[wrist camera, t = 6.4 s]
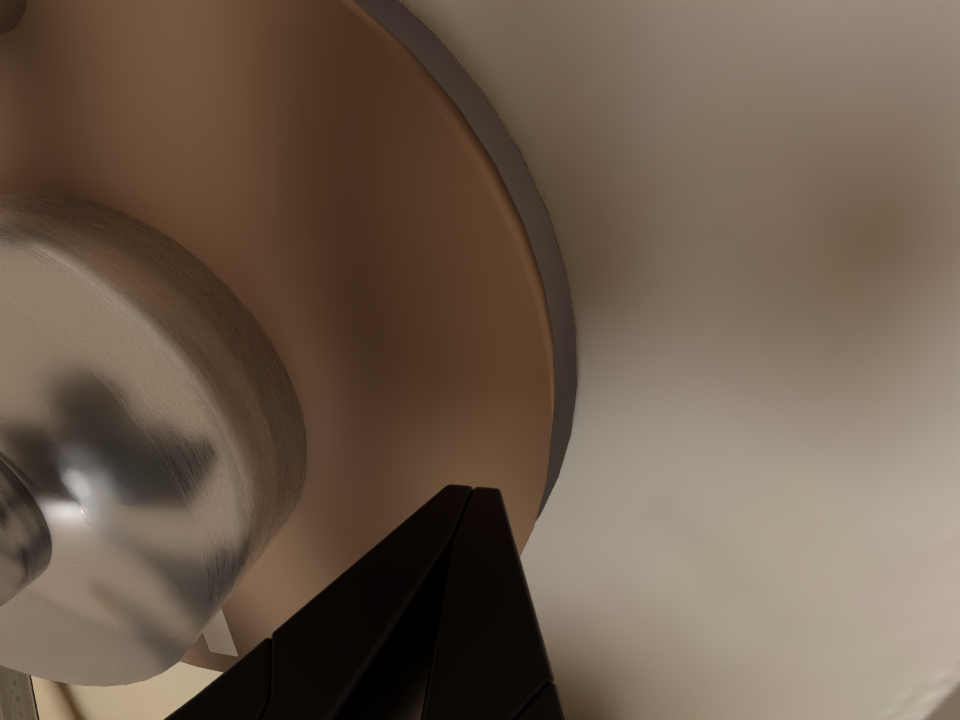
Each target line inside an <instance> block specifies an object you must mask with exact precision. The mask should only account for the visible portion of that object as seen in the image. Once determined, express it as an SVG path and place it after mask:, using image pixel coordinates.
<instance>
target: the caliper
mask: <svg viewBox="0 0 960 720" xmlns="http://www.w3.org/2000/svg"><path fill="white" fill-rule="evenodd" d="M0 720H39V715H38V710H37V705H36V700H35V695H34V690H33V684H32V679H31V675H29V674H25V673H22V672H19V671H16V670H13V669H10V668H7V667H4V666H2V665H0Z"/></svg>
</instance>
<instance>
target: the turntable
mask: <svg viewBox="0 0 960 720" xmlns="http://www.w3.org/2000/svg"><path fill="white" fill-rule="evenodd" d="M26 192H44V193H61V194H66V195H71V196H75V197H80V198H85V199H90V200H93V201H95V202H98V203H101V204H104V205H107V206H110V207H113V208H115V209H118V210H121V211H123V212H125V213H127V214H129V215H131V216H133V217H135V218H137V219H139V220H141V221H143V222H145V223H147V224H149V225H151V226H152V227H154V228H155V229H157V230H159V231H160V232H162V233H163V234H165V235H167V236H168V237H170V238H171V239H173V240H174V241H176V242H178V243H179V244H180V245H181V246H183V247H184V248H185V249H187V250H188V251H189V252H190V253H192V254H193V255H194V256H195V257H197V258H198V259H199V260H201V261H202V262H203V263H204V264H206V265H207V266H208V267H209V268H210V269H211V270H212V271H213V272H214V273H215V274H216V275H217V276H218V277H219V278H220V279H221V280H222V281H223V282H224V283H225V284H226V285H227V286H228V287H229V288H230V289H231V290H232V291H233V292H234V293H235V294H236V296H237V297H238V298H239V299H240V300H241V301H242V303H243V304H244V305H245V306H246V307H247V309H248V310H249V311H250V312H251V313H252V315H253V316H254V317H255V319H256V320H257V322H258V323H259V325H260V326H261V328H262V329H263V330H264V332H265V333H266V335H267V336H268V338H269V339H270V340H271V342H272V344H273V346H274V348H275V350H276V351H277V353H278V355H279V357H280V359H281V360H282V362H283V364H284V366H285V368H286V370H287V373H288V375H289V378H290V380H291V382H292V385H293V387H294V390H295V392H296V395H297V398H298V402H299V405H300V409H301V412H302V416H303V420H304V426H305V433H306V440H307V470H306V476H305V482H304V487H303V490H302V493H301V496H300V499H299V502H298V505H297V507H296V508H295V510H294V512H293V513H292V515H291V517H290V519H289V520H288V522H287V523H286V524H285V526H284V527H283V528H282V530H281V531H280V532H279V534H278V535H277V536H276V537H275V539H274V540H273V541H272V543H271V544H270V545H269V547H268V548H267V549H266V550H265V552H264V553H263V554H262V556H261V557H260V558H259V560H258V561H257V562H256V563H255V565H254V566H253V567H252V569H251V570H250V571H249V573H248V574H247V575H246V577H245V578H244V579H243V580H242V582H241V583H240V584H239V586H238V587H237V588H236V590H235V591H234V592H233V593H232V595H231V596H230V597H229V599H228V600H227V601H226V603H225V604H224V605H223V607H222V608H221V609H220V610H219V612H218V613H217V614H216V616H215V617H214V618H213V620H212V621H211V622H210V623H209V625H208V626H207V627H206V629H205V630H204V631H203V633H202V634H201V635H200V636H199V638H198V639H197V640H196V642H195V643H194V644H193V646H192V647H191V648H190V649H189V650H188V652H187V653H186V654H185V655H184V656H183V657H182V658H181V659H180V662H184V663H187V664H190V665H193V666H197V667H201V668H206V669H210V670H215V671H219V672H225V671H226V670H228V669H229V668H230V667H231V666H233V665H234V664H235V663H236V662H238V661H239V660H240V659H241V658H242V657H244V656H245V655H246V654H247V653H248V652H250V651H251V650H252V649H253V648H254V647H255V646H257V645H258V644H259V643H260V642H261V641H263V640H264V639H265V638H267V637H268V638H270V639H271V635H272V633H273V632H274V631H275V630H276V629H277V628H278V627H279V626H281V625H282V624H283V623H284V622H285V621H287V620H288V619H289V618H290V617H291V616H292V615H294V614H295V613H296V612H297V611H298V610H300V609H301V608H302V607H303V606H304V605H305V604H307V603H308V602H309V601H310V600H311V599H313V598H314V597H315V596H316V595H317V594H318V593H320V592H321V591H322V590H323V589H324V588H326V587H327V586H328V585H329V584H330V583H331V582H333V581H334V580H335V579H336V578H337V577H339V576H340V575H341V574H342V573H343V572H345V571H346V570H347V569H348V568H349V567H350V566H352V565H353V564H354V563H355V562H356V561H358V560H359V559H360V558H361V557H362V556H363V555H365V554H366V553H367V552H368V551H369V550H371V549H372V548H373V547H374V546H375V545H376V544H378V543H379V542H380V541H381V540H382V539H384V538H385V537H386V536H387V535H388V534H389V533H391V532H392V531H393V530H394V529H395V528H397V527H398V526H399V525H400V524H401V523H402V522H404V521H405V520H406V519H407V518H408V517H410V516H411V515H412V514H413V513H414V512H415V511H417V510H418V509H419V508H420V507H421V506H423V505H424V504H425V503H426V502H427V501H428V500H430V499H431V498H432V497H433V496H434V495H436V494H437V493H438V492H439V491H440V490H442V489H443V488H444V487H445V486H447V485H449V484H457V485H468V486H471V487H473V489H474V488H476V487H490V488H498V489H500V491H501V493H502V496H503V500H504V503H505V507H506V510H507V514H508V517H509V521H510V524H511V528H512V531H513V535H514V539H515V542H516V546H517V549H518V553H519V556H520V555H521V553H522V551H523V549H524V547H525V545H526V543H527V541H528V539H529V536H530V534H531V532H532V530H533V528H534V524H535V521H536V517H537V514H538V510H539V507H540V503H541V499H542V496H543V492H544V489H545V485H546V479H547V470H548V460H549V451H550V442H551V433H552V422H553V411H554V400H555V389H556V384H555V360H554V336H553V331H552V326H551V320H550V315H549V309H548V304H547V298H546V293H545V288H544V282H543V279H542V276H541V273H540V270H539V267H538V264H537V261H536V258H535V255H534V252H533V248H532V245H531V242H530V239H529V236H528V233H527V230H526V227H525V224H524V222H523V220H522V218H521V216H520V214H519V212H518V210H517V208H516V205H515V203H514V201H513V199H512V197H511V195H510V193H509V191H508V189H507V187H506V184H505V182H504V180H503V178H502V176H501V174H500V172H499V170H498V168H497V166H496V164H495V163H494V161H493V160H492V158H491V156H490V155H489V153H488V152H487V150H486V149H485V147H484V146H483V144H482V142H481V141H480V139H479V138H478V136H477V135H476V133H475V132H474V130H473V128H472V127H471V125H470V124H469V122H468V121H467V119H466V118H465V116H464V115H463V113H462V111H461V110H460V108H459V107H458V106H457V105H456V104H455V102H454V101H453V100H452V99H451V98H450V96H449V95H448V94H447V93H446V92H445V90H444V89H443V88H442V87H441V86H440V84H439V83H438V82H437V81H436V80H435V78H434V77H433V76H432V75H431V74H430V73H429V71H428V70H427V69H426V68H425V67H424V65H423V64H422V63H421V62H420V61H419V59H418V58H417V57H416V56H415V55H414V53H413V52H411V51H410V50H409V49H408V48H407V47H406V46H405V45H404V44H403V43H402V42H401V41H399V40H398V39H397V38H396V37H395V36H394V35H393V34H392V33H391V32H390V31H389V30H388V29H386V28H385V27H384V26H383V25H382V24H381V23H380V22H379V21H378V20H377V19H376V18H375V17H373V16H372V15H371V14H370V13H369V12H368V11H367V10H366V9H365V8H364V7H363V6H362V5H360V4H359V3H358V2H356V1H355V0H0V195H3V194H15V193H26Z"/></svg>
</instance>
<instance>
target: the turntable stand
mask: <svg viewBox="0 0 960 720" xmlns="http://www.w3.org/2000/svg"><path fill="white" fill-rule="evenodd" d="M355 1H356V2H358V3H359V4H360V5H362V6H363V7H364V8H365V9H366V10H367V11H368V12H369V13H370V14H371V15H372V16H373V17H375V18H376V19H377V20H378V21H379V22H380V23H381V24H382V25H383V26H384V27H385V28H386V29H388V30H389V31H390V32H391V33H392V34H393V35H394V36H395V37H396V38H397V39H398V40H399V41H401V42H402V43H403V44H404V45H405V46H406V47H407V48H408V49H409V50H410V51H411V52H413V53H414V55H415V56H416V57H417V58H418V59H419V61H420V62H421V63H422V64H423V65H424V67H425V68H426V69H427V70H428V71H429V73H430V74H431V75H432V76H433V77H434V78H435V80H436V81H437V82H438V83H439V84H440V86H441V87H442V88H443V89H444V90H445V92H446V93H447V94H448V95H449V96H450V98H451V99H452V100H453V101H454V102H455V104H456V105H457V106H458V107H459V108H460V110H461V111H462V113H463V115H464V116H465V118H466V119H467V121H468V122H469V124H470V125H471V127H472V128H473V130H474V132H475V133H476V135H477V136H478V138H479V139H480V141H481V142H482V144H483V146H484V147H485V149H486V150H487V152H488V153H489V155H490V156H491V158H492V160H493V161H494V163H495V164H496V166H497V168H498V170H499V172H500V174H501V176H502V178H503V180H504V182H505V184H506V187H507V189H508V191H509V193H510V195H511V197H512V199H513V201H514V203H515V205H516V208H517V210H518V212H519V214H520V216H521V218H522V220H523V222H524V224H525V227H526V230H527V233H528V236H529V239H530V242H531V245H532V248H533V252H534V255H535V258H536V261H537V264H538V267H539V270H540V273H541V276H542V279H543V282H544V288H545V293H546V298H547V304H548V309H549V315H550V320H551V326H552V331H553V336H554V360H555V384H556V389H555V400H554V411H553V422H552V433H551V442H550V451H549V460H548V470H547V479H546V485H545V489H544V492H543V496H542V499H541V503H540V507H539V510H538V514H537V517H536V520H537V519H538V517H539V516H540V514H541V512H542V510H543V508H544V506H545V504H546V502H547V500H548V498H549V496H550V493H551V491H552V489H553V487H554V485H555V483H556V481H557V479H558V476H559V473H560V469H561V466H562V462H563V459H564V456H565V452H566V449H567V445H568V442H569V438H570V435H571V427H572V420H573V412H574V404H575V396H576V388H577V368H576V327H575V321H574V315H573V309H572V302H571V296H570V290H569V284H568V278H567V272H566V268H565V265H564V262H563V259H562V256H561V252H560V249H559V246H558V243H557V239H556V236H555V233H554V230H553V226H552V223H551V220H550V217H549V213H548V211H547V209H546V206H545V204H544V202H543V200H542V198H541V196H540V193H539V191H538V189H537V187H536V185H535V182H534V180H533V178H532V176H531V174H530V172H529V169H528V167H527V165H526V163H525V161H524V159H523V156H522V154H521V152H520V150H519V149H518V147H517V146H516V144H515V142H514V141H513V139H512V138H511V136H510V134H509V133H508V131H507V130H506V128H505V126H504V125H503V123H502V122H501V120H500V118H499V117H498V115H497V114H496V112H495V110H494V109H493V107H492V106H491V104H490V102H489V101H488V99H487V98H486V96H485V94H484V93H483V91H482V90H481V89H480V88H479V87H478V85H477V84H476V83H475V82H474V80H473V79H472V78H471V77H470V76H469V74H468V73H467V72H466V71H465V70H464V68H463V67H462V66H461V65H460V63H459V62H458V61H457V60H456V59H455V57H454V56H453V55H452V54H451V52H450V51H449V50H448V49H447V48H446V46H445V45H444V44H443V43H442V41H441V40H440V39H439V38H438V37H437V35H435V34H434V33H433V32H432V31H431V30H430V29H429V28H428V27H427V26H426V25H425V24H424V23H423V22H422V21H421V20H419V19H418V18H417V17H416V16H415V15H414V14H413V13H412V12H411V11H410V10H409V9H408V8H407V7H406V6H404V5H403V4H402V3H401V2H400V1H399V0H355ZM535 522H536V521H535Z"/></svg>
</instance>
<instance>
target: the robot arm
mask: <svg viewBox="0 0 960 720" xmlns="http://www.w3.org/2000/svg"><path fill="white" fill-rule="evenodd" d="M164 720H566V717H565V713H564V710H563V706H562V703H561V699H560V696H559V692H558V689H557V686H556V684H555V683H554V676H553V672H552V669H551V665H550V662H549V658H548V655H547V651H546V648H545V644H544V641H543V637H542V633H541V630H540V626H539V623H538V619H537V616H536V612H535V609H534V605H533V602H532V598H531V595H530V591H529V588H528V584H527V581H526V577H525V574H524V570H523V567H522V563H521V560H520V556H519V553H518V549H517V546H516V542H515V539H514V535H513V531H512V528H511V524H510V521H509V517H508V514H507V510H506V507H505V503H504V500H503V496H502V493H501V491H500V489H498V488H490V487H476V488H474V489H473V487H471V486H468V485H457V484H449V485H447V486H445V487H444V488H443V489H442V490H440V491H439V492H438V493H437V494H436V495H434V496H433V497H432V498H431V499H430V500H428V501H427V502H426V503H425V504H424V505H423V506H421V507H420V508H419V509H418V510H417V511H415V512H414V513H413V514H412V515H411V516H410V517H408V518H407V519H406V520H405V521H404V522H402V523H401V524H400V525H399V526H398V527H397V528H395V529H394V530H393V531H392V532H391V533H389V534H388V535H387V536H386V537H385V538H384V539H382V540H381V541H380V542H379V543H378V544H376V545H375V546H374V547H373V548H372V549H371V550H369V551H368V552H367V553H366V554H365V555H363V556H362V557H361V558H360V559H359V560H358V561H356V562H355V563H354V564H353V565H352V566H350V567H349V568H348V569H347V570H346V571H345V572H343V573H342V574H341V575H340V576H339V577H337V578H336V579H335V580H334V581H333V582H331V583H330V584H329V585H328V586H327V587H326V588H324V589H323V590H322V591H321V592H320V593H318V594H317V595H316V596H315V597H314V598H313V599H311V600H310V601H309V602H308V603H307V604H305V605H304V606H303V607H302V608H301V609H300V610H298V611H297V612H296V613H295V614H294V615H292V616H291V617H290V618H289V619H288V620H287V621H285V622H284V623H283V624H282V625H281V626H279V627H278V628H277V629H276V630H275V631H274V632H273V633H272V635H271V639H270V638H268V637H267V638H265V639H264V640H263V641H261V642H260V643H259V644H258V645H257V646H255V647H254V648H253V649H252V650H251V651H250V652H248V653H247V654H246V655H245V656H244V657H242V658H241V659H240V660H239V661H238V662H236V663H235V664H234V665H233V666H231V667H230V668H229V669H228V670H226V671H225V672H224V673H223V674H222V675H220V676H219V677H218V678H217V679H215V680H214V681H213V682H212V683H210V684H209V685H208V686H207V687H206V688H204V689H203V690H202V691H201V692H199V693H198V694H197V695H196V696H194V697H193V698H192V699H190V700H189V701H188V702H186V703H185V704H184V705H182V706H181V707H180V708H178V709H177V710H176V711H174V712H173V713H172V714H170V715H169V716H168V717H166V718H165V719H164Z"/></svg>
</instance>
